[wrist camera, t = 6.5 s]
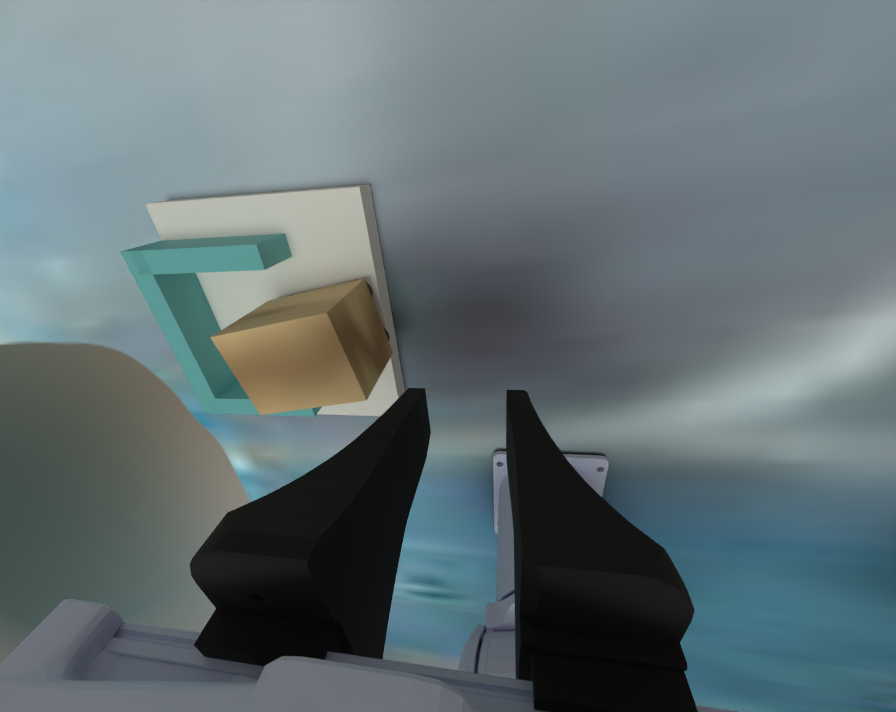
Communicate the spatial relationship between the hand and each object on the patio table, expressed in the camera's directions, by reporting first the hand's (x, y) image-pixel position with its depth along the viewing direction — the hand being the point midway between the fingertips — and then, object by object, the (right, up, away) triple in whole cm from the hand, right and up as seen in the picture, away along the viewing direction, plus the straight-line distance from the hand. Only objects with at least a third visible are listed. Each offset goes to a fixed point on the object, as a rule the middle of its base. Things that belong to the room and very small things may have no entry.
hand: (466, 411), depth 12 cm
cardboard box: (-7, +4, +8) cm, 12 cm away
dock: (-10, +5, +10) cm, 15 cm away
